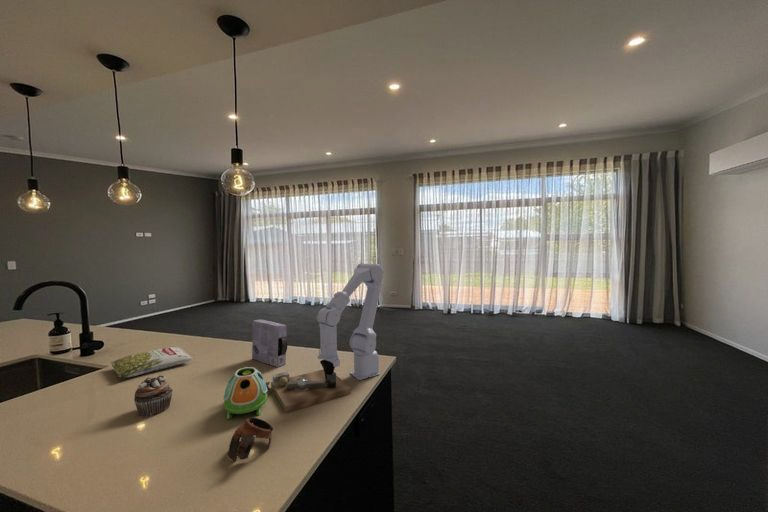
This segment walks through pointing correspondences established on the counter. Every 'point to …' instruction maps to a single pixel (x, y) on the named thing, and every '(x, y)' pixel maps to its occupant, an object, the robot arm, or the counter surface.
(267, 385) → the wooden post with brackets
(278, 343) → the cake pan box
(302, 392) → the board
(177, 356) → the frozen beans
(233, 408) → the turtle holder
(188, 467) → the counter surface
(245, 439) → the brown curved open piece
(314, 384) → the lever
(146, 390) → the cupcake
